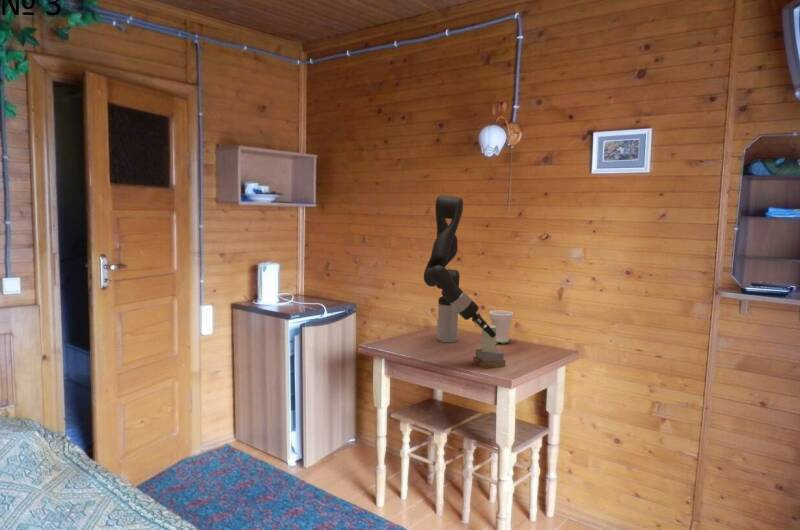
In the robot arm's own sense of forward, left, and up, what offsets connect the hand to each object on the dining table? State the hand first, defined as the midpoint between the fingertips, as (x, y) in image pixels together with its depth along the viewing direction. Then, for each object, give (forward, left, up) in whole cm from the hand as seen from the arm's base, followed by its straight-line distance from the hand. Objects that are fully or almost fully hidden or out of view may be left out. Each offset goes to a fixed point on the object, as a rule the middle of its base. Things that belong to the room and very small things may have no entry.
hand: (491, 333), depth 230 cm
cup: (-27, +26, -13) cm, 40 cm away
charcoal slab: (0, -1, -10) cm, 10 cm away
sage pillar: (0, -1, -7) cm, 7 cm away
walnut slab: (0, -1, -13) cm, 13 cm away
